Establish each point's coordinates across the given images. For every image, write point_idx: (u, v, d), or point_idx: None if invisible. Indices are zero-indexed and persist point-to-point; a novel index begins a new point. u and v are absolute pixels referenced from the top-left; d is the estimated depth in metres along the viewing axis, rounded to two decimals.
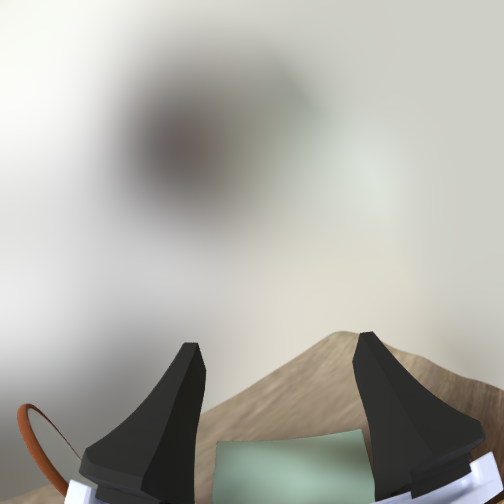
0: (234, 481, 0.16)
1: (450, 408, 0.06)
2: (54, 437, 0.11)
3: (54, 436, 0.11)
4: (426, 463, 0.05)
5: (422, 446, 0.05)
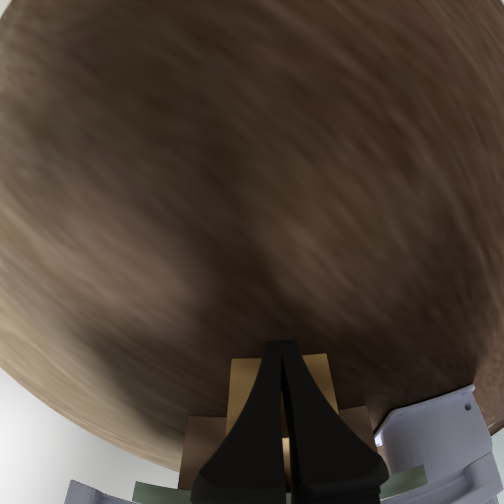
0: None
1: (352, 435, 0.06)
2: None
3: None
4: (305, 491, 0.05)
5: (300, 473, 0.05)
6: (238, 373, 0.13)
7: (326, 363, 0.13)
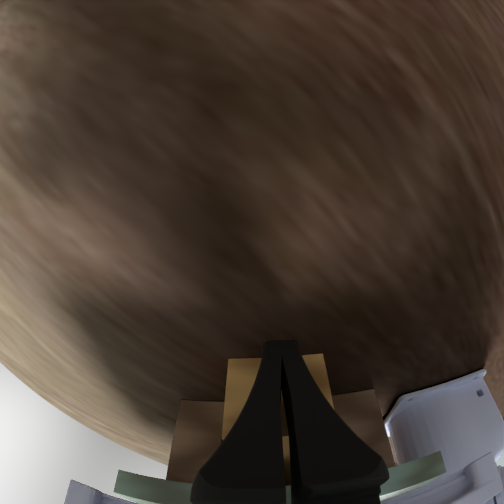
0: None
1: (352, 435, 0.06)
2: None
3: None
4: (305, 491, 0.05)
5: (300, 473, 0.05)
6: (235, 372, 0.13)
7: (322, 362, 0.13)
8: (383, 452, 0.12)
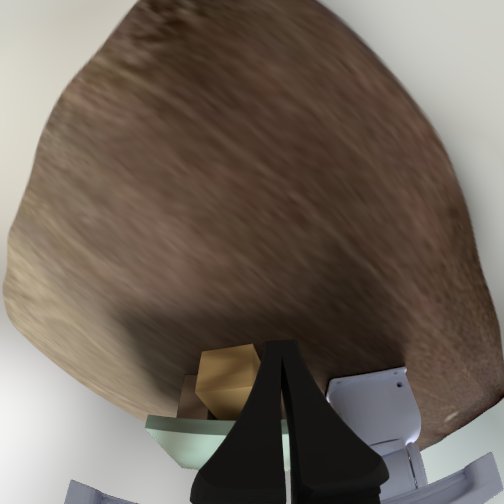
0: None
1: (352, 435, 0.06)
2: None
3: None
4: (305, 491, 0.05)
5: (300, 473, 0.05)
6: (204, 358, 0.25)
7: (251, 349, 0.24)
8: None
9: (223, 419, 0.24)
